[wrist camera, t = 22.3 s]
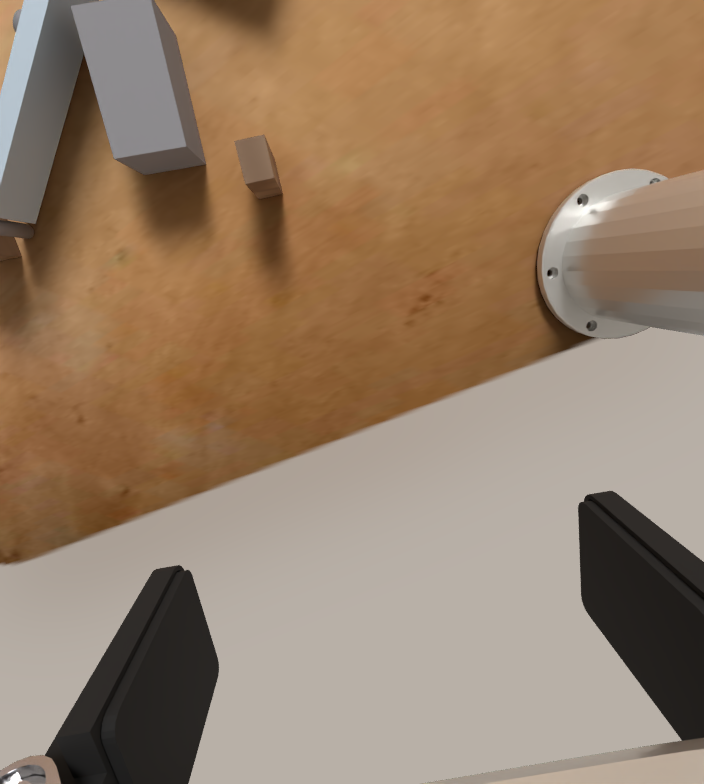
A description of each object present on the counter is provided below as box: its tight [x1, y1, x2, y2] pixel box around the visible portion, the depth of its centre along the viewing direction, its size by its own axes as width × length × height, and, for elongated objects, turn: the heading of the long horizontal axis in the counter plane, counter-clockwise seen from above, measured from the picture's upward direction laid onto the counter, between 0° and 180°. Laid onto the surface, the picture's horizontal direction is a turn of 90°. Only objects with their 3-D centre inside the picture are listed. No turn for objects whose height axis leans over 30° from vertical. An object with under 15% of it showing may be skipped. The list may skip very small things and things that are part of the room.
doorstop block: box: [71, 0, 206, 175], centre depth 29 cm, size 4×8×5 cm, turn 10°
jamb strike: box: [235, 135, 283, 199], centre depth 30 cm, size 2×2×6 cm
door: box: [0, 0, 99, 239], centre depth 28 cm, size 17×2×6 cm, turn 155°
